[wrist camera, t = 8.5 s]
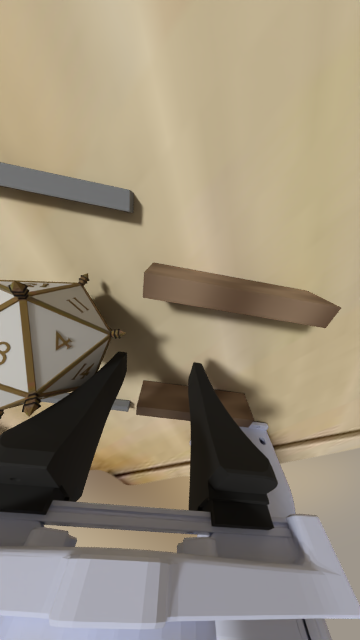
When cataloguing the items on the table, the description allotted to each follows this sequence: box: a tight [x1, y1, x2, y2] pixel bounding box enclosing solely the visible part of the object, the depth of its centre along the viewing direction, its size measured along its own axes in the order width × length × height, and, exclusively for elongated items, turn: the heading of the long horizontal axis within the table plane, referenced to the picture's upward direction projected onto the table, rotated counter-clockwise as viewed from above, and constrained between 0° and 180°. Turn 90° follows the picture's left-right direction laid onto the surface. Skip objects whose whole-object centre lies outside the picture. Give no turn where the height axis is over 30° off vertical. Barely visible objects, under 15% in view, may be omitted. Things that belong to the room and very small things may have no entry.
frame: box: [0, 162, 134, 412], centre depth 14 cm, size 18×22×1 cm
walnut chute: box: [136, 263, 341, 428], centre depth 14 cm, size 12×14×3 cm
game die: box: [0, 273, 126, 419], centre depth 10 cm, size 9×8×10 cm
